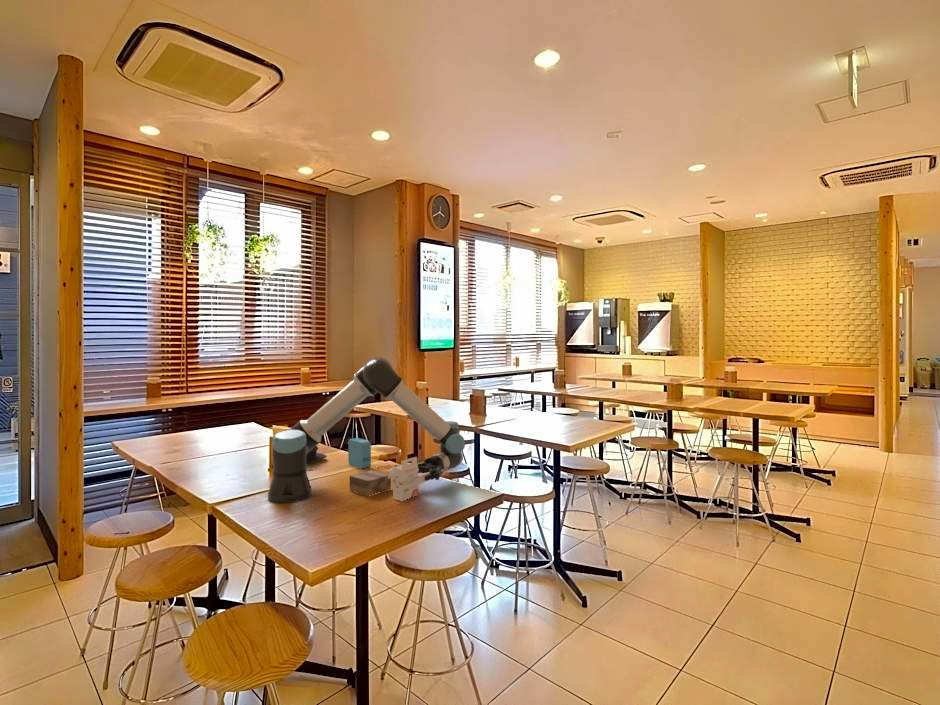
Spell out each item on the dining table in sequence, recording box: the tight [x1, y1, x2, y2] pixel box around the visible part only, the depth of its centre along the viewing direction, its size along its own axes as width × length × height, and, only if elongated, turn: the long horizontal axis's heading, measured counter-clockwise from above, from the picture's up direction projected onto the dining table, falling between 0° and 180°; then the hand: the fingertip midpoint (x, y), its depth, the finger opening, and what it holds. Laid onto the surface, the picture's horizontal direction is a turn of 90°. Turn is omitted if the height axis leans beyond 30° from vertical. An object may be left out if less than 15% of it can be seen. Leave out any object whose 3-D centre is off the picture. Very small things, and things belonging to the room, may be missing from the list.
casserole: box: [306, 445, 327, 465], centre depth 232 cm, size 25×19×8 cm
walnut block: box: [349, 469, 392, 497], centre depth 191 cm, size 11×11×6 cm
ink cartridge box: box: [392, 456, 419, 502], centre depth 182 cm, size 9×5×15 cm, turn 143°
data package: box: [347, 437, 372, 470], centre depth 226 cm, size 12×4×12 cm, turn 44°
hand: (403, 477), depth 181 cm, fingers open, 13 cm apart
